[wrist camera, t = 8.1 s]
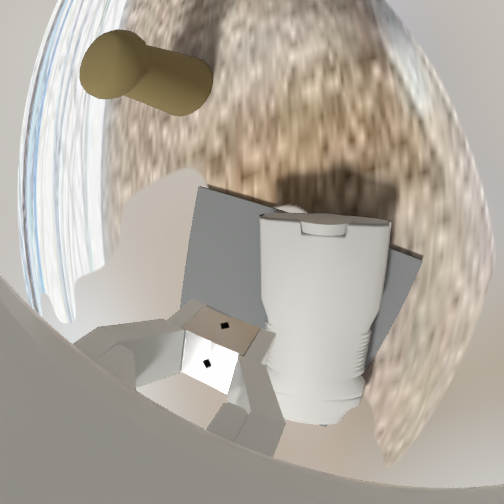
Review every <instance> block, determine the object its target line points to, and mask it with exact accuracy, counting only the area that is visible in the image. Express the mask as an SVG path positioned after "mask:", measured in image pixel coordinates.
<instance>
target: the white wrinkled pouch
mask: <svg viewBox="0 0 504 504" xmlns="http://www.w3.org/2000/svg"><path fill="white" fill-rule="evenodd" d="M259 223H260V264H261V299H262V302H263V305H264V308H265V311H266V314H267V318H268V319H267V320H266V321H265V324H266V326H265V328H266V330H269V331H272V332H274V333H276V338H275V340H274V343H273V346H272V349H271V351H270V354H269V356H268V359H267V362H266V364H265V366H266V368H267V371H268V374H269V377H270V380H271V383H272V386H273V389H274V392H275V395H276V397H277V400H278V403H279V406H280V409H281V412H282V415H283V418H284V419H287V420H290V421H295V422H300V423H307V424H323V425H326V424H336V423H339V422H340V421H341V420H342V418H343V416H344V415H345V414H346V412H347V411H348V410H349V409H352V408H354V407H357V406H358V405H359V404H360V402H361V399H362V396H363V393H364V389H365V382H366V381H365V380H364V378H363V377H362V376H361V374H363V373H364V369H365V368H364V366H365V361H366V359H365V357H366V356H367V354H366V353H367V352H368V351H367V350H368V347H367V346H368V343H369V342H370V337H371V336H370V334H371V333H372V331H371V330H370V326H371V324H372V323H373V321H374V319H375V317H376V315H377V313H378V312H379V310H380V306H381V300H382V294H383V288H384V282H385V275H386V268H387V259H388V250H389V242H390V232H391V222H390V221H388V220H383V219H378V218H368V217H358V216H343V215H338V214H329V213H311V214H305V213H265V214H260V215H259Z"/></svg>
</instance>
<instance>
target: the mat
mask: <svg viewBox="0 0 504 504" xmlns="http://www.w3.org/2000/svg"><path fill="white" fill-rule="evenodd" d="M265 213H288V212H285V211H282V210H279V209H276V208H272V207H269V206H266V205H263V204H259V203H256V202H253V201H249V200H246V199H243V198H239V197H236V196H232V195H229V194H226V193H222V192H219V191H215V190H211V189H208V188H204V187H201V186H200V187H198V192H197V198H196V203H195V209H194V215H193V221H192V227H191V234H190V239H189V246H188V253H187V260H186V267H185V275H184V282H183V289H182V298H181V306H180V309H181V308H182V307H183V306H184V305H186V304H187V303H188V302H189V301H190V300H194V299H195V300H197V301H199V302H201V303H204V304H206V305H208V306H210V307H212V308H215V309H217V310H219V311H221V312H223V313H226V314H228V315H230V316H232V317H234V318H236V319H239V320H241V321H244V322H246V323H249V324H251V325H254V326H257V327H259V328H263V329H266V328H265V326H266V324H265V321H266V320H267V319H268V318H267V314H266V311H265V308H264V305H263V302H262V299H261V264H260V223H259V215H260V214H265ZM421 264H422V260H421V259H418V258H416V257H413V256H410V255H408V254H405V253H403V252H400V251H397V250H395V249H392V248H389V250H388V259H387V268H386V275H385V282H384V288H383V294H382V300H381V306H380V310H379V312H378V313H377V315H376V317H375V319H374V321H373V323H372V324H371V326H370V330H371V331H372V333H371V334H370V336H371V337H370V342H369V343H368V346H367V347H368V350H367V351H368V352H367V353H366V354H367V356H366V357H365V359H366V361H365V366H364V368H365V369H364V372H365V371H366V369H367V368H368V366H369V364H370V363H371V361H372V359H373V358H374V356H375V354H376V353H377V351H378V349H379V348H380V346H381V344H382V342H383V341H384V339H385V337H386V335H387V334H388V332H389V330H390V328H391V326H392V324H393V323H394V321H395V319H396V317H397V315H398V313H399V311H400V309H401V307H402V305H403V303H404V301H405V299H406V297H407V295H408V293H409V290H410V288H411V286H412V284H413V282H414V280H415V277H416V275H417V273H418V271H419V268H420V266H421ZM363 374H364V373H363ZM363 374H361V376H362V375H363ZM318 425H321V426H325V427H326V426H327V425H328V424H326V425H323V424H318Z"/></svg>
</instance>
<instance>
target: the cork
mask: <svg viewBox="0 0 504 504" xmlns="http://www.w3.org/2000/svg"><path fill="white" fill-rule="evenodd" d="M80 82H81V85H82V87H83V88H84V89H85V91H86V92H87V93H88V94H90V95H92V96H94V97H96V98H98V99H113V98H118V97H121V96H123V95H124V96H127V97H129V98H132V99H135V100H137V101H140V102H142V103H145V104H147V105H150V106H152V107H155V108H157V109H160V110H162V111H164V112H167V113H169V114H171V115H174V116H184V115H188V114H191V113H193V112H194V111H196V110H197V109H199V108H200V107H201V106H202V105H203V104H204V102H205V101H206V100H207V98H208V96H209V94H210V92H211V88H212V84H213V78H212V72H211V70H210V68H209V66H208V65H207V64H206V63H205V62H204V61H203V60H200V59H197V58H194V57H191V56H187V55H184V54H180V53H177V52H173V51H169V50H165V49H161V48H156V47H152V46H148V45H146V44H145V42H144V41H143V40H142V39H141V38H140V37H139V36H138V35H137V34H135V33H133V32H131V31H127V30H114V31H110V32H107V33H104V34H102V35H101V36H99V37H98V38H97V39H96V40H95V41H94V42H93V43H92V44H91V45H90V47H89V48H88V50H87V51H86V53H85V55H84V57H83V60H82V63H81V67H80Z"/></svg>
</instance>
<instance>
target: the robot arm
mask: <svg viewBox="0 0 504 504" xmlns="http://www.w3.org/2000/svg"><path fill="white" fill-rule="evenodd" d="M275 338H276V333H274V332H272V331H269V330H266V329H263V328H259V327H257V326H254V325H251V324H249V323H246V322H244V321H241V320H239V319H236V318H234V317H232V316H230V315H228V314H226V313H223V312H221V311H219V310H217V309H215V308H212V307H210V306H208V305H206V304H204V303H201V302H199V301H197V300H195V299H194V300H190V301H189V302H188V303H187V304H186V305H184V306H183V307H182V308H181V309H180V310H178V311H177V312H176V313H175V314H174V315H172V316H171V317H170V318H169V319H167V320H165V319H156V320H150V321H143V322H134V323H128V324H127V323H126V324H118V325H110V326H101V327H97V328H96V329H94V330H93V331H92V332H90V333H88V334H87V335H85V336H84V337H82V338H81V339H79V340H78V341H76V342H75V343H73V344H72V343H70V342H69V341H68V340H67V339H66V338H64V337H63V336H62V335H61V334H60V333H59V332H58V331H56V330H55V329H54V328H53V327H52V326H51V325H50V324H49V323H48V322H47V321H45V320H44V319H43V318H42V317H41V316H40V315H39V314H38V313H37V312H36V311H35V310H34V309H33V308H32V307H31V306H30V305H29V304H28V303H27V302H26V301H25V300H24V299H23V298H22V297H21V296H20V295H19V294H18V293H17V292H16V291H15V289H14V288H13V287H12V286H11V285H10V284H9V283H8V282H7V281H6V279H5V278H4V277H3V276H2V275H1V274H0V504H504V484H501V485H493V486H484V487H469V488H424V487H409V486H398V485H389V484H381V483H375V482H369V481H363V480H357V479H352V478H347V477H342V476H337V475H333V474H328V473H325V472H321V471H317V470H313V469H309V468H306V467H302V466H299V465H295V464H292V463H289V462H286V461H283V460H280V459H277V458H274V457H273V455H274V453H275V450H276V448H277V445H278V442H279V440H280V437H281V434H282V432H283V429H284V427H285V420H284V418H283V415H282V412H281V409H280V406H279V403H278V400H277V397H276V395H275V392H274V389H273V386H272V383H271V380H270V377H269V374H268V371H267V368H266V366H265V364H266V362H267V359H268V356H269V354H270V351H271V349H272V346H273V343H274V340H275ZM180 371H181V372H183V373H185V374H187V375H189V376H191V377H193V378H195V379H198V380H200V381H202V382H204V383H206V384H208V385H210V386H212V387H214V388H216V389H218V390H220V391H222V392H224V393H226V394H227V403H224V404H223V405H222V406H221V408H220V409H219V411H218V413H217V414H216V415H215V417H214V419H213V420H212V422H211V423H210V424H209V426H208V427H207V429H204V428H202V427H200V426H198V425H196V424H194V423H192V422H190V421H188V420H186V419H184V418H182V417H180V416H178V415H176V414H175V413H173V412H171V411H169V410H168V409H166V408H164V407H162V406H161V405H159V404H157V403H155V402H154V401H152V400H150V399H149V398H147V397H145V396H144V395H142V394H141V393H139V392H137V391H136V387H140V386H143V385H146V384H149V383H152V382H155V381H158V380H160V379H163V378H166V377H169V376H172V375H174V374H177V373H180Z"/></svg>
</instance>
